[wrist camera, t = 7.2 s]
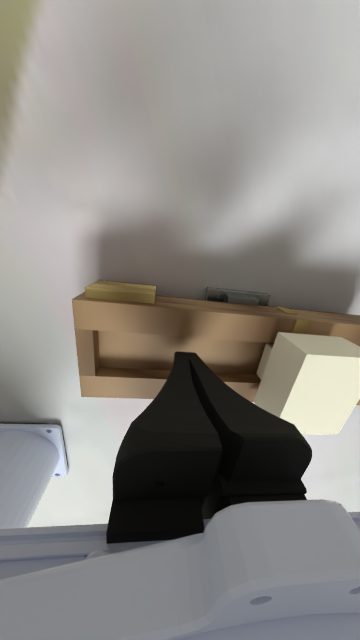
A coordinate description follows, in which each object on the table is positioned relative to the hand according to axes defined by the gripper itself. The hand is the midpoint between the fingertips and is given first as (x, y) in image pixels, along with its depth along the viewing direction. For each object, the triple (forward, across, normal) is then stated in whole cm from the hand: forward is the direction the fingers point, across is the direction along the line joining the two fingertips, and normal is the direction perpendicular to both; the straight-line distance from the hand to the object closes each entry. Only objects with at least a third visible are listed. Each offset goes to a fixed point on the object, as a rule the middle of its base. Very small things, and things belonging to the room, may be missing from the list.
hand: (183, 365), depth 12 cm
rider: (+1, -8, 0) cm, 8 cm away
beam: (+4, -4, 0) cm, 6 cm away
